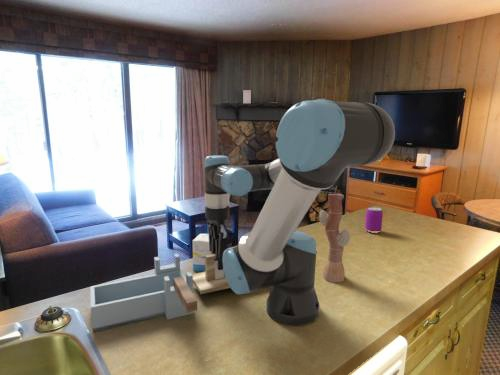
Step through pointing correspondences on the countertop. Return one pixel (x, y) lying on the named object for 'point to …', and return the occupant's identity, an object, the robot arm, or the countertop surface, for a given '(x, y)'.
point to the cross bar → (185, 294)
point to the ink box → (200, 251)
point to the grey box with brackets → (139, 298)
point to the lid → (209, 277)
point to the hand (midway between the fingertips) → (218, 276)
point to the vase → (334, 238)
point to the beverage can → (374, 219)
